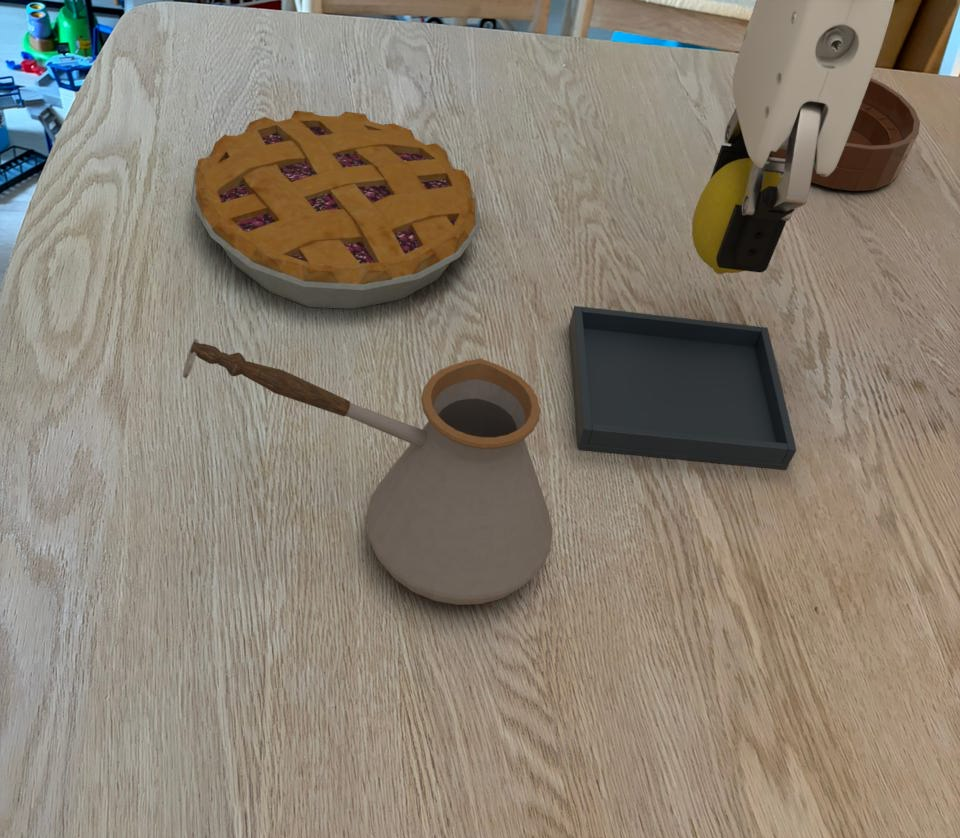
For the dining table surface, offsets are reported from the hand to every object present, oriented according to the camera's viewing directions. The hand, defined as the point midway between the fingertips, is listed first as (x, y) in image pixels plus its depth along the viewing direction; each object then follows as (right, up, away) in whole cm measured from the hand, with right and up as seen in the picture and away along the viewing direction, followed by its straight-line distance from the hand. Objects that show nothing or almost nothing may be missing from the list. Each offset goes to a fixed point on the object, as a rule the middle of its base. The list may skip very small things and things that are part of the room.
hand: (733, 234), depth 68 cm
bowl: (+17, +21, +34) cm, 44 cm away
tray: (-2, -8, +11) cm, 14 cm away
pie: (-28, +6, +17) cm, 33 cm away
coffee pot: (-23, -20, -1) cm, 31 cm away
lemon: (0, -2, +2) cm, 3 cm away
